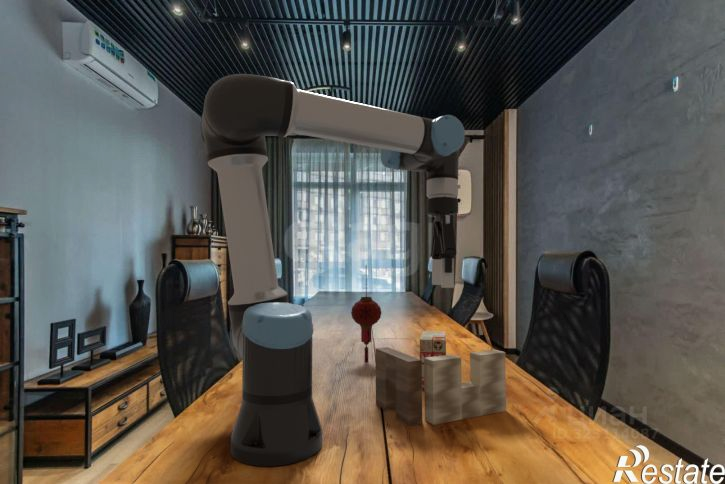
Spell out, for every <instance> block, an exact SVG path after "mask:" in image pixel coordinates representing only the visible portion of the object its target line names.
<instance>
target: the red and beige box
mask: <svg viewBox="0 0 725 484" xmlns="http://www.w3.org/2000/svg"><path fill="white" fill-rule="evenodd" d="M444 355H447V339H446V331H441V330H440V331H439V330H437V331H436V330H435V331H434V330H422V334H421V336H420V338H419V359H420V360H422V390H424V358H426V357H435V356H444Z"/></svg>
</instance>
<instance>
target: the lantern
mask: <svg viewBox="0 0 725 484" xmlns="http://www.w3.org/2000/svg"><path fill="white" fill-rule="evenodd" d="M367 286H368V285H367V264H365V296H361V297H360V299H359V300H358V301H356V302H355V303H354V305H353V306H352V307H351V312H350V313H351V318H352V319H353V321H354V322H355V323H356V324H357V325H359V326H360V329H361V330H360V333H361V334H360V336H361V337H360V338H361V339H360V340H361V343H363V344H364V345H365V347H364V363H369V346H368V345H369V344H370V343H372V341H373V340H372V329H373V326H374V325H375V324H377V323H378V322H379V320H380V319H381V317H382V310H381V306H380V305H379V303H378V302H376V301H374V300H373V298H372V296H368V294H367V293H368V292H367V288H368V287H367Z"/></svg>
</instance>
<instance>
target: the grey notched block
mask: <svg viewBox="0 0 725 484" xmlns="http://www.w3.org/2000/svg"><path fill="white" fill-rule="evenodd" d="M469 366H470V367H469V369H470V371H469V372H470V373H469V374H470V379H469V380H470V381H466V382H462V357H460V356H457V355H454V354H446V355H444V356H435V357H426V358H424V389H423V390H424V420H425V421H426V422H428V423H430V424H431V425H433V426H434V425H441V424H445V423H450V422H455V421H459V420H460V421H461V420H465V419H472V418H477V417H481V416H485V415H487V416H488V415H490V414H491V415H492V414H496V413H502V412H506V411H507V390H506V389H507V388H506V387H507V385H506V384H507V382H506V381H507V379H506V373H507V371H506V352H505V351H503V350H502V351H501V350H498V349H489V350H480V351H471V352H469Z"/></svg>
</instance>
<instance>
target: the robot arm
mask: <svg viewBox="0 0 725 484" xmlns="http://www.w3.org/2000/svg"><path fill="white" fill-rule="evenodd" d="M199 128H200V129H199V131H200V132H199V133H200V136H201V138H202V142H203V143H204V146H205V153H206V160H207V165H208V166H209V168H211V169H212V170H213V171H215V172H216V174H217V178H218V179H217V180H218V185H219V187H218V188H219V193H220V200H221V201H220V202H221V208H222V215H223V221H224V227H225V234H226V242H227V250H228V256H229V263H230V269H231V277H232V278H231V279H232V283H233V294H232V296H231V297H230V299H229V300H228V301H227V306H228V312H229V320H230V327H229V329H230V330H229V339H230V343H231V346H232V347H233V350H235V352H236V354H237V355H238V356H239V357H240V358H241V361H242V373H241V374H242V380H241V381H242V385H241V387H242V388H241V389H242V390H241V391H242V393H241V394H242V396H241V397H242V398H241V399H242V401H241V404H240V408H239V410H238V411H239V412H238V414H237V417H236V420H235V424H234V425H233V426H234V427H233V430H232V432H231V436H230V454H231V455H232V457H233V458H234V459H235V460H237V461H238V462H240V463H243V464H247V465H250V466H258V467H277V466H284V465H285V466H286V465H290V464H294V463H298V462H301V461H304V460H307V459H308V458H311V457H313V456H314V455H315V454H316V453H318V452H319V451H320V450H321V449H322V446H323V427H322V423H321V421H320V418H319V415H318V412H317V408H316V405H315V401H314V398H313V335H314V325H313V317H312V313H311V311H310V310H309V309H308V308H307V307H305V306H303V305H300V304H296V303H294V304H293V303H291V302H289V297H288V292H287V291H286V290H285V289H283V288H282V287H280V286H279V282H278V281H279V280H278V276H277V268H276V261H275V253H274V247H273V246H274V245H273V241H272V234H271V233H272V232H271V224H270V219H269V218H270V217H269V212H268V205H267V199H266V198H267V196H266V190H265V183H264V182H265V181H264V176H263V167H264V165H266V164H267V162H268V161H269V158H268V157H269V156H268V150H267V142H266V136H275V137H280V138H286V137H287V136H289V135H291V134H296V135H301V136H308V137H313V138H318V139H324V140H331V141H335V142H341V143H347V144H353V145H359V146H365V147H371V148H374V149H380V161H381V164H382V165H383V166H384V167H385V168H388V169H393V170H395V171H398V170H400V171H408V172H409V171H410V172H417V173H418V172H419V173H426V197H427V198H428V199H427V200H426V214H427V215H429V216H435V220H432V237H431V251H430V257H431V285H432V286H440V287H441V288H442V289H443V288H445V289H455V277H454V276H455V256H456V255H457V248H456V247H457V246H456V239H455V238H456V237H455V228H454V216H456V215H458V214H459V200H458V198H457V197H459V189H461V184H459V154H460V152H459V150H460V149H461V148H462V147H463V146H464V145H463V144H464V142H465V139H466V138H465V137H466V133H465V128H464V125H463V122H462V121H460V120H459V119H458V118H457V117H456V116H455V115H453V114H452V115H451V114H445V115H441V116H437V117H435V118H433V119H432V118H428V117H422V116H419V115H418V116H417V115H413V114H409V113H404V112H399V111H396V110H391V109H386V108H381V107H377V106H373V105H368V104H365V103H364V104H363V103H359V102H354V101H350V100H346V99H343V98H337V97H332V96H327V95H325V94H319V93H314V92H310V91H306V90H302V89H298V88H297V87H296V85H295V83H294V82H292V81H289V80H284V79H280V78H276V77H270V76H265V75H258V74H251V73H249V74H248V73H236V74H229V75H226V76H223V77H221V78H220V79H218V80H216V81H215V82H214V83H212V85H211V86H210V88H208V91H207V93H206V95H205V98H204V103H203V111H202V114H201V117H200V124H199Z"/></svg>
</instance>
